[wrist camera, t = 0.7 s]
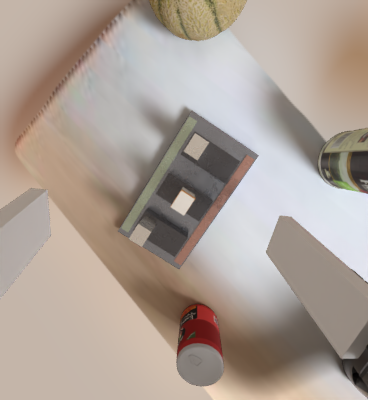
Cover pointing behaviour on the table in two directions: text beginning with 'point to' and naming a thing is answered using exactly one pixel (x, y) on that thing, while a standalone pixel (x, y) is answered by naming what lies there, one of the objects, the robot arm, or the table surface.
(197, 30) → the cantaloupe
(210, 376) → the canned food
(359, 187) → the coffee can
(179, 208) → the handle
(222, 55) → the table surface
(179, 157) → the panel
